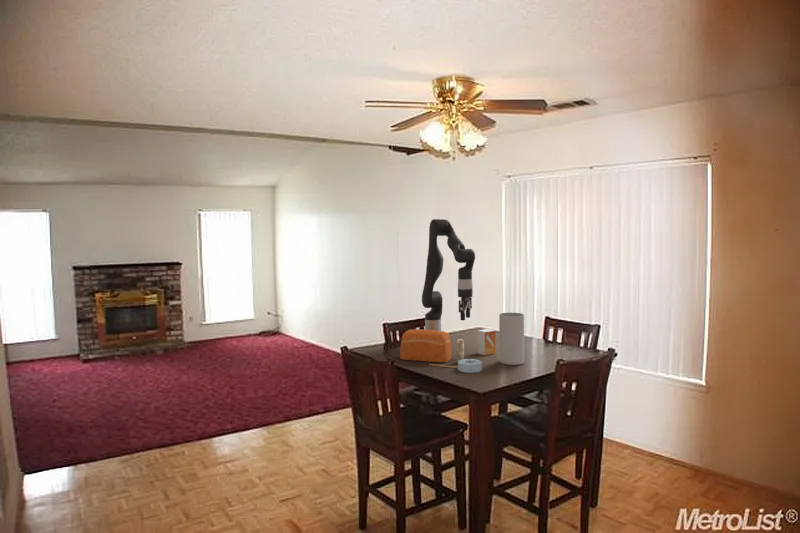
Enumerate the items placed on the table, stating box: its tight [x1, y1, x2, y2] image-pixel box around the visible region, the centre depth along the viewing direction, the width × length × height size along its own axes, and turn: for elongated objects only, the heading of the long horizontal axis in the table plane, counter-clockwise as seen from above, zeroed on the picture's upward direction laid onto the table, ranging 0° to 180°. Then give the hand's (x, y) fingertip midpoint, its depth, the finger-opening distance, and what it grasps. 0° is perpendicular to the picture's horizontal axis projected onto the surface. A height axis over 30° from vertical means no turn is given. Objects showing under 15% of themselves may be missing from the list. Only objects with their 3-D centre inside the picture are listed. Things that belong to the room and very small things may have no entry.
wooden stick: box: [428, 363, 458, 369], centre depth 276 cm, size 17×1×1 cm, turn 63°
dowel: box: [456, 338, 465, 364], centre depth 283 cm, size 4×4×12 cm
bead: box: [457, 358, 483, 374], centre depth 270 cm, size 11×11×4 cm
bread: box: [399, 328, 452, 363], centre depth 293 cm, size 14×26×16 cm, turn 69°
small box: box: [476, 328, 496, 356], centre depth 303 cm, size 8×6×13 cm
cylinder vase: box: [498, 312, 525, 366], centre depth 282 cm, size 12×12×25 cm
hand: (465, 318), depth 283 cm, fingers open, 8 cm apart
